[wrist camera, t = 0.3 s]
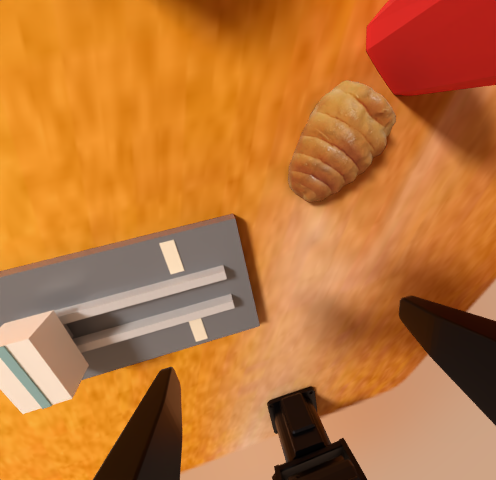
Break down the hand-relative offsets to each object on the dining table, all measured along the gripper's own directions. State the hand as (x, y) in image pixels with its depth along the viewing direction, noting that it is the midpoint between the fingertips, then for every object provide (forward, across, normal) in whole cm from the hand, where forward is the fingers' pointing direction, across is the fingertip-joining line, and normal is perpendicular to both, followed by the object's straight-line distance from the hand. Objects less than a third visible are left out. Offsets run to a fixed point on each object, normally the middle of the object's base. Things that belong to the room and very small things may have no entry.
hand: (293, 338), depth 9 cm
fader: (+13, +17, +5) cm, 22 cm away
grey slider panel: (+14, +11, +5) cm, 19 cm away
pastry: (+15, -10, -5) cm, 19 cm away
